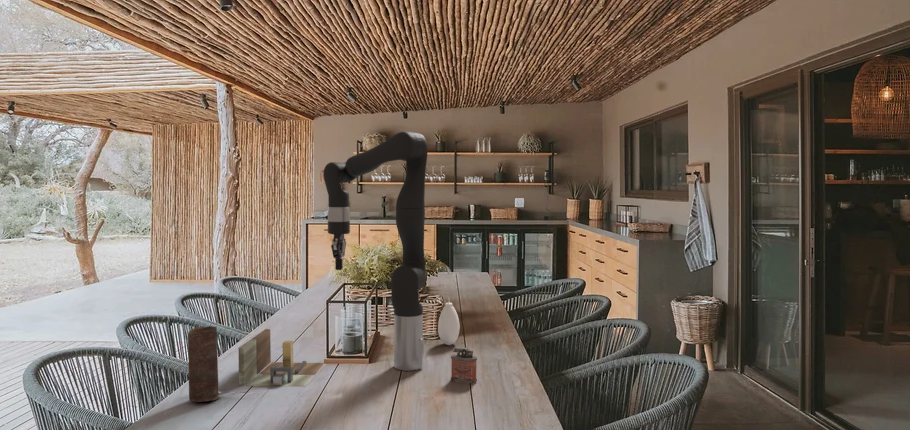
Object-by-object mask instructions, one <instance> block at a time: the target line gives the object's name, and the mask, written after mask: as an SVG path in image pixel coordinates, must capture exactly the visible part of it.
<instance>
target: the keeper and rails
mask: <svg viewBox="0 0 910 430" xmlns="http://www.w3.org/2000/svg"><path fill="white" fill-rule="evenodd" d="M300 363H301V364H300V365H299V366H298V367H297V368H296V369H295V374H298V373H299V372H300V371H301V370H302V369H303V368H304V367H305V366H306V363H307V361H306V360H303V361H301V362H300ZM276 371H277V372H287V378H288V383H291V382H292V381H293V366H272V367H271V368H270V374H269V375H270V382H273V377H274V376H275V375H276Z"/></svg>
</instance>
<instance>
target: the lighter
mask: <svg viewBox="0 0 910 430" xmlns="http://www.w3.org/2000/svg"><path fill="white" fill-rule="evenodd" d="M452 352H453V353H454V354H451V355H450V359H451V376H450V381H451V380H452V381H451V382H454V381H456V382H455V383H460V382H462V383H461V384H470V383H474V384H476V382H477V383H478V379H477V361H478V357H477V356H476V355H475V356H474V349H471V348H470V349H469V348H468V347H464V348H462V347H453V348H452ZM455 353H456V354H455Z"/></svg>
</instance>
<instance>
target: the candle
mask: <svg viewBox="0 0 910 430" xmlns="http://www.w3.org/2000/svg"><path fill="white" fill-rule="evenodd" d="M217 333H218V330H217V326H211V325H210V326H196V327H193V329H191V330H190V331H188V333H187V346H188V347H187V349H188V351H187V352H188V353H187V355H188V356H187V357H188V360H187V362H188V399H189V401H191V402H198V403H204V402H209V401H216V400H218V399H219V395H220V394H219V370H218V369H219V366H218V361H219V360H218V334H217Z"/></svg>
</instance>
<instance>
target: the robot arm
mask: <svg viewBox="0 0 910 430" xmlns="http://www.w3.org/2000/svg"><path fill="white" fill-rule="evenodd" d="M428 150H429V149H428V141H427V139H426V137H425V136H424V135H423V134H421V133H419V132H412V131H405V130H404V131H399V132H397V133H396V134H394V135H392V136H391V137H389V138H387V139H386V140H385V141H383V142H382V143H380V144H377V145H376V146H374V147H372V148H370V149H368V150H364V151H363V152H360V153H357V154H355V155H352V156H351V157H349V158H347V160H346V161H345V162H336V161H334V162H333V161H331V162H328V163H327V164H326V165H325V167H324V169H323V172H322V173H323V174H322V175H323V180H324V184H325V185H324V186H325V188H326V192H327V195H328V198H327V199H328V201H327V202H328V206H327V207H328V209H327V233H328V234H329V235H333V239H331V245H330V247H331V252H332V256H333V259H334V260H335V265H334V267H335V268H334V269H335V270H336V271H341V270H343V265H344V264H343V260H344V257H345V255H346V254H345V253H346V247H347V241H346V238H345V235H348V234H350V233H351V219H350V218H351V212H350V194H349V191H347V190H345V189H343V188H342V184H345V183H351V182H352V181H354V180H356V179H358V178H359V177H360V176H363V175H366V174H368V173H371V172H374V171H375V170H376V169H378V168H379V167H380V166H381V165H383V164H385V163H386V164H387V163H388V162H393V161H402V162H403V161H405V163H406V169H405V179H404V181H403V184H402V186H401V188H400V190H399V193H398V196H397V197H396V202H395V224H396V229H397V233H398V236H399V238H400V242H401V247H402V260H401V261H402V262H401V263H402V264H401V265H400V266H397V267H396V268H395V269H394V270H393V272H392V275H391V278H390V279H391V280H390V287H391V290H390V291H391V293H390V294H391V304H392V307H393V317H394V318H393V344H394V345H393V358H394V359H393V366H394V367H393V368H395V369H396V370H399V371H405V372H407V371H408V372H409V371H417V370H422V369H423V367H424V308H423V307H424V306H423V304H422V303H421V302H420V294H419V292H420V291H419V290H420V289H421V288H423V287H424V285H425V283H426V281H427V271H426V270H427V269H426V259H425V219H426V218H425V217H426V216H425V215H426V213H425V212H426V209H425V208H426V207H425V192H426V191H425V188H426V171H427V162H428V161H427V160H428V152H429V151H428Z"/></svg>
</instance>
